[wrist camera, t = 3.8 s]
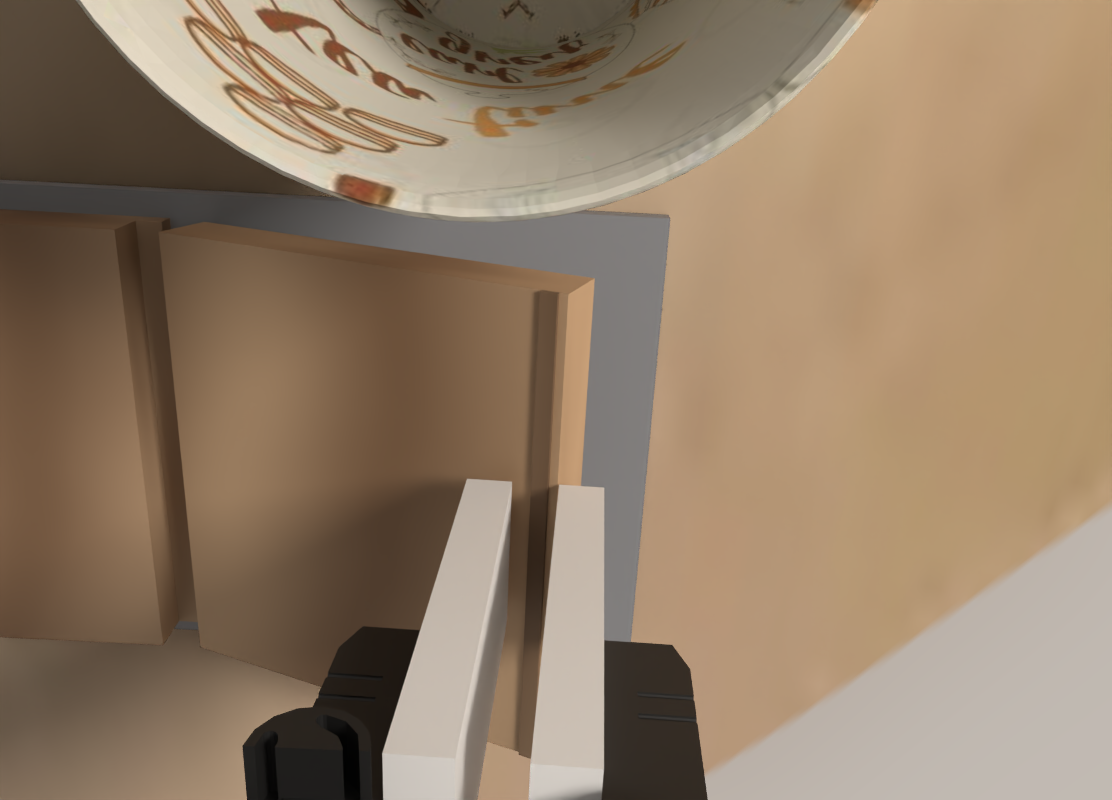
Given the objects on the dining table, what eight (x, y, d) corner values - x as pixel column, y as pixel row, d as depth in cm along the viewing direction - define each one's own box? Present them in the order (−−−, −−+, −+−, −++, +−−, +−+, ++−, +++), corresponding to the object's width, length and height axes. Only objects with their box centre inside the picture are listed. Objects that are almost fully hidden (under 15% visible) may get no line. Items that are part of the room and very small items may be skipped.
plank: (237, 618, 22) (198, 648, 21) (204, 221, 18) (155, 232, 17) (565, 720, 19) (540, 761, 18) (594, 278, 16) (566, 295, 15)
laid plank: (-69, 598, 22) (-108, 631, 21) (-156, 200, 18) (-206, 212, 17) (207, 612, 22) (185, 646, 21) (170, 217, 19) (142, 231, 17)
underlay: (-55, 607, 22) (-66, 616, 22) (-147, 171, 19) (-162, 174, 18) (628, 640, 22) (629, 651, 22) (668, 214, 19) (670, 218, 18)
